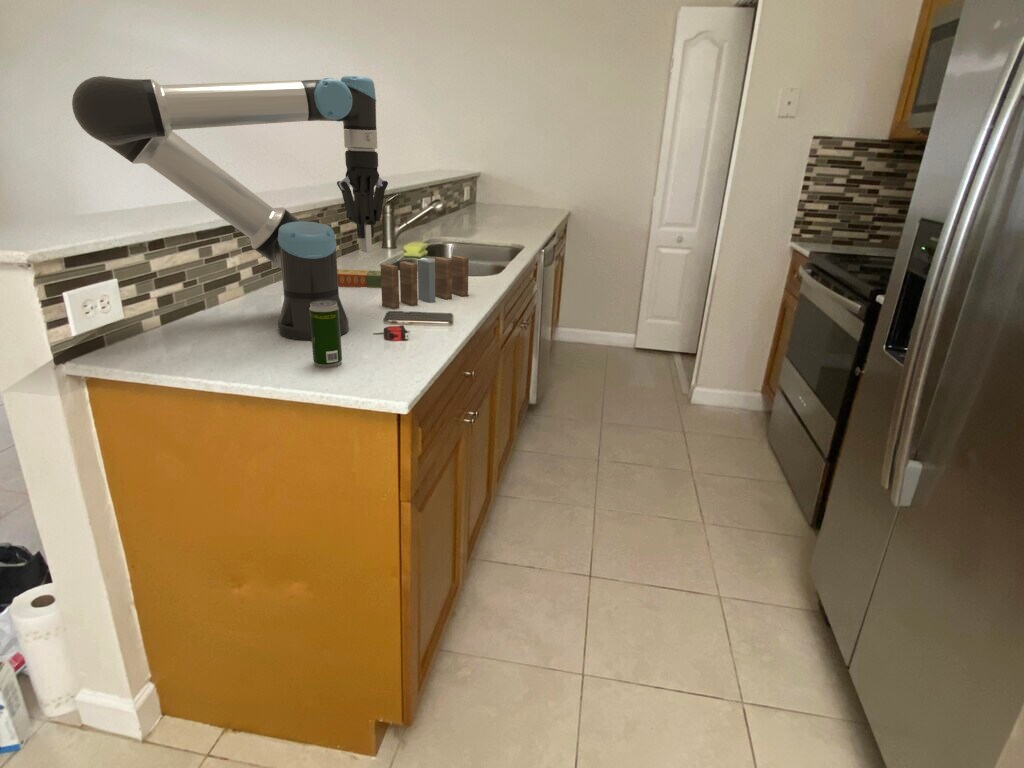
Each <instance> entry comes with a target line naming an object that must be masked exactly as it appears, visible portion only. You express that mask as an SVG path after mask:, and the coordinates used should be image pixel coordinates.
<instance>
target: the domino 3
mask: <svg viewBox="0 0 1024 768" xmlns="http://www.w3.org/2000/svg"><path fill="white" fill-rule="evenodd" d="M417 288H418V301H422V302H426V303H430V304H431V303H435V302H436V297H435V260H434V261H433V260H428V259H424V258H423V259H422V258H421V259H417Z"/></svg>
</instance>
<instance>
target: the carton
mask: <svg viewBox="0 0 1024 768" xmlns="http://www.w3.org/2000/svg"><path fill="white" fill-rule="evenodd" d="M337 273H338V288H361V287H367V289H369V288H370V289H381V270H364V269H361V270H360V269H340V268H339V269H338V268H337Z"/></svg>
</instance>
